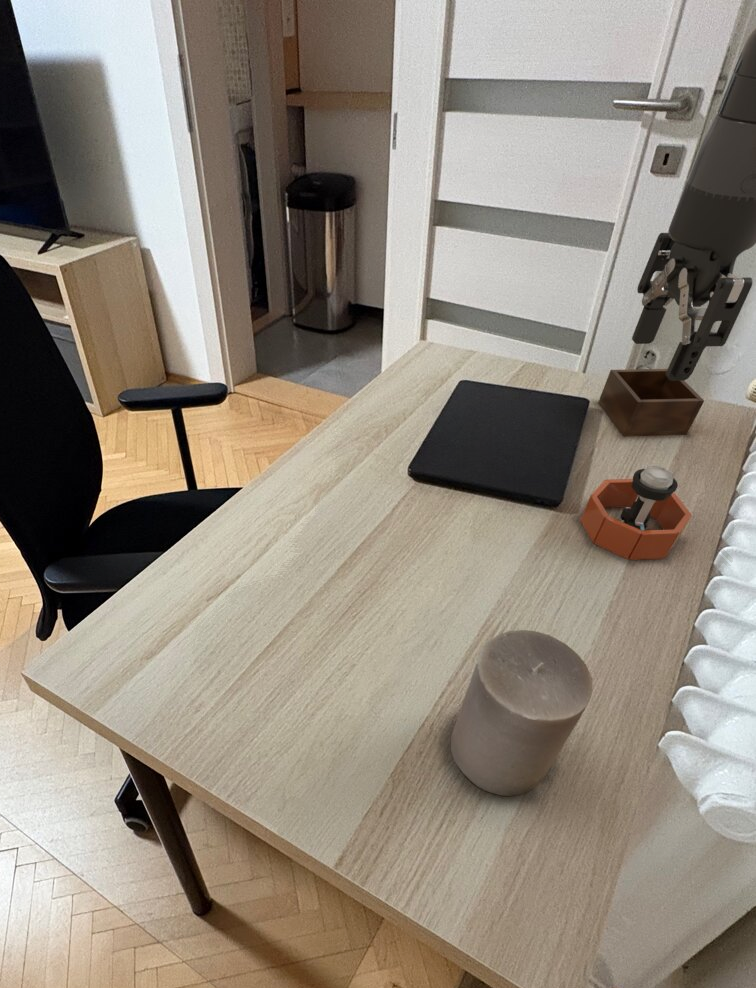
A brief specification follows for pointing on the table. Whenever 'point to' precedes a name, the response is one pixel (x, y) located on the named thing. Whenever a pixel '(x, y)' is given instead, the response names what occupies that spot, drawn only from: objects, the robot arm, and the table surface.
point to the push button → (648, 494)
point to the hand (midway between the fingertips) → (657, 359)
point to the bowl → (626, 537)
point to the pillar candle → (519, 711)
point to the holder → (649, 403)
